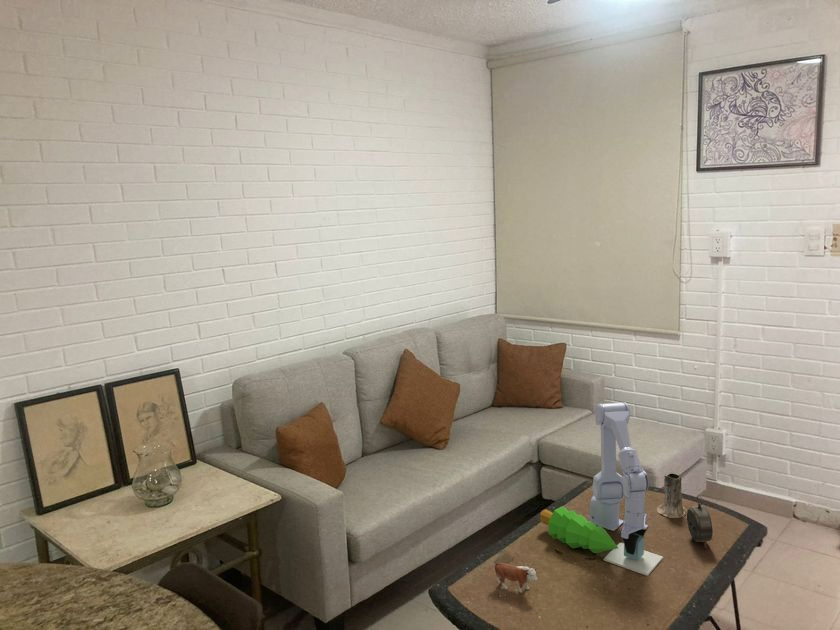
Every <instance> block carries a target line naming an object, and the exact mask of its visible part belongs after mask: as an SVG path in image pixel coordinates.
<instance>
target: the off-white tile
mask: <svg viewBox="0 0 840 630" xmlns="http://www.w3.org/2000/svg"><path fill="white" fill-rule="evenodd" d="M616 545H617V547H618V548H617V549H612V550H610V552H608V553H607V554H606V556H605V557H603V561H605V562H607V563H610V564H613V565H616V566H618V567H621V568H624V569H627V570H630V571H632V572H635V573H639V574H640V575H643V576H646V577H649V575H650V574H651V573H652V571H654V569H655V568H656V567H657V566H659V564H660V563H661V561H662V560H663V559H664V556H663V555H662V556H661V555H660V554H656V553H653V552H650V551H647V550H645V549H644V555H643V556H642V557H641V558H640V559H639V560H638V561H637V560H634V559H632V558H629V557H626V556H624V542H619V543H618V544H616Z"/></svg>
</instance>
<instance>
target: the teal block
mask: <svg viewBox="0 0 840 630" xmlns="http://www.w3.org/2000/svg"><path fill="white" fill-rule="evenodd" d="M634 534H635V533H634ZM635 535H638V534H635ZM638 536H639V538H638V540H637V542H636V547H635V552H634V554H633V555H632V554H629V553H627V552H626V548H625V544H624V556H626V557H629V558H632V559H634V560H637V561H638V560H639V559H640V558H641V557H642V556H643V555H644V550H645V535H644V536H641V535H638Z"/></svg>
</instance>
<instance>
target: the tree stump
mask: <svg viewBox="0 0 840 630" xmlns="http://www.w3.org/2000/svg"><path fill="white" fill-rule="evenodd" d="M663 481H664V483H663V486H664V487H663V488H664V498H663V501H662V503H661V504H660V505H658V506H657V508H656V511H657V513H658V514H660V515H662V516H664V517H666V518H669V519H681V517H683V516H684V515H683V514H685V512H687V511H688V510H687V508H686V507H685V506H683V492H682V476H681V475H678V474H676V473H669V474H667V475H664V480H663ZM683 518H684V517H683Z"/></svg>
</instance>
